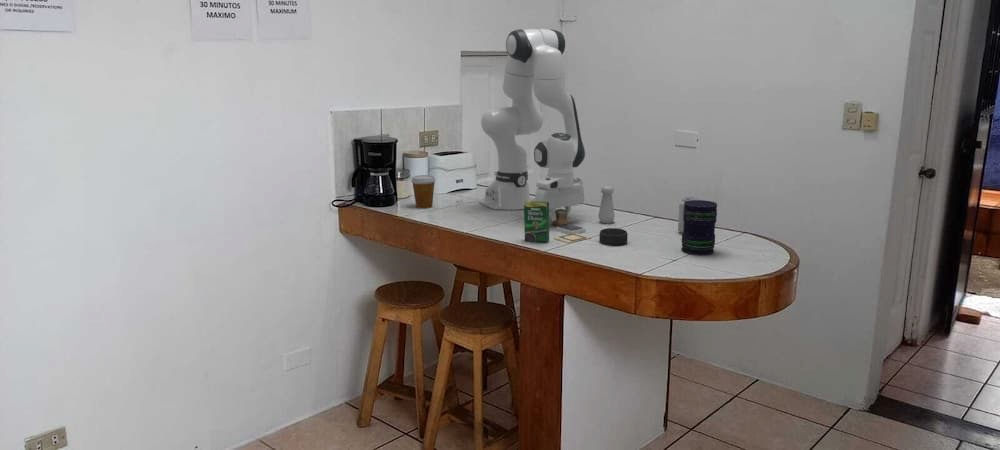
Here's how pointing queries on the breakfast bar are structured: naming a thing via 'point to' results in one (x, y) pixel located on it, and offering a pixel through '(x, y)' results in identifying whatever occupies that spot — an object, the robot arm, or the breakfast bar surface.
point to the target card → (572, 238)
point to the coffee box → (536, 221)
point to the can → (681, 209)
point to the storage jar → (699, 227)
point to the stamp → (560, 217)
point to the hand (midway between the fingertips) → (559, 219)
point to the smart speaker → (613, 236)
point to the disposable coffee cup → (423, 190)
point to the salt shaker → (606, 206)
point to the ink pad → (570, 229)
